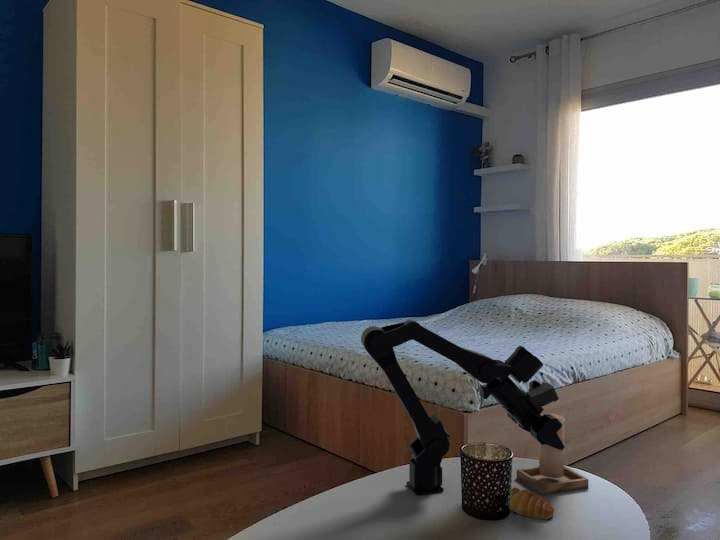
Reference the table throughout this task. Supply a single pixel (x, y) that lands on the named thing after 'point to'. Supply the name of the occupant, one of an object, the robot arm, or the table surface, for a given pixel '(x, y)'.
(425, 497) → the table surface
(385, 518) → the table surface
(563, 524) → the table surface
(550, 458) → the tumbler
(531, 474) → the tray
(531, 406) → the robot arm
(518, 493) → the pastry
